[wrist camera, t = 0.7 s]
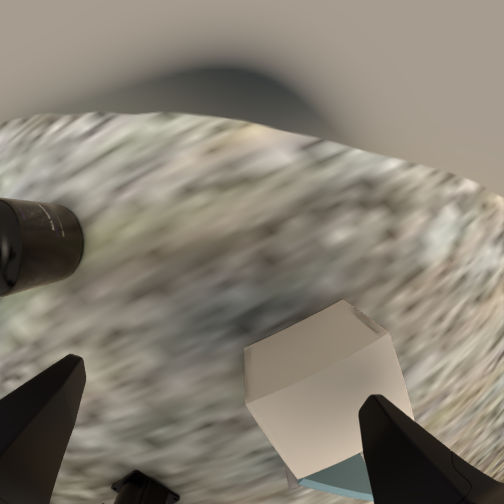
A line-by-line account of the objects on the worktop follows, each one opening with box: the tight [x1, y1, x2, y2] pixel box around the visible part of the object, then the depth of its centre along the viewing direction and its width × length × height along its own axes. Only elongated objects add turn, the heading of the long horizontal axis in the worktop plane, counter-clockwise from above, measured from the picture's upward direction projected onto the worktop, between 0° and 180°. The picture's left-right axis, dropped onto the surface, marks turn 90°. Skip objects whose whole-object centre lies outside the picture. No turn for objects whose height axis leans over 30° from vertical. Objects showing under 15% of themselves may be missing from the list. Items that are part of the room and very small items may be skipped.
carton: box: [244, 299, 414, 479], centre depth 20 cm, size 9×8×8 cm
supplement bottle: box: [0, 198, 82, 297], centre depth 16 cm, size 7×7×12 cm
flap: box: [284, 453, 374, 501], centre depth 20 cm, size 9×2×8 cm, turn 56°
